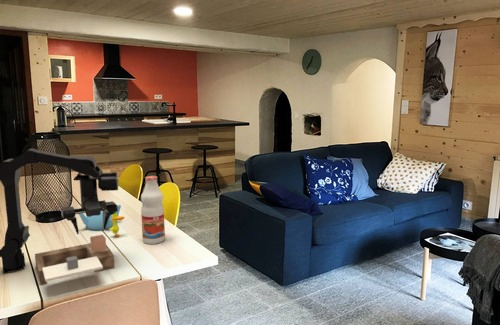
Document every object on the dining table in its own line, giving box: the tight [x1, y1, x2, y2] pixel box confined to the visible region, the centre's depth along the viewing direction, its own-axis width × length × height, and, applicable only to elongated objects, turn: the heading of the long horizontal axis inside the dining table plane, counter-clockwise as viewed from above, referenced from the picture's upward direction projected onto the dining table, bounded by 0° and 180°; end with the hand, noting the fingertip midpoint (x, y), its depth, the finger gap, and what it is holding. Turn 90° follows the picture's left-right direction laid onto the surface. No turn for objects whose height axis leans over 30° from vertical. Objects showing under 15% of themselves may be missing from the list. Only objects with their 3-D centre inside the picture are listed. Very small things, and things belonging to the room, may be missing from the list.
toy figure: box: [109, 212, 125, 238], centre depth 171 cm, size 7×4×12 cm, turn 118°
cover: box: [42, 256, 103, 283], centre depth 129 cm, size 17×10×4 cm, turn 123°
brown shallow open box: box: [34, 242, 116, 286], centre depth 142 cm, size 24×16×5 cm, turn 123°
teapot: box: [78, 204, 122, 231], centre depth 184 cm, size 15×15×11 cm
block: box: [89, 234, 107, 252], centre depth 145 cm, size 4×4×4 cm
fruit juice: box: [140, 175, 166, 245], centre depth 166 cm, size 9×9×28 cm
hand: (91, 231), depth 145 cm, fingers open, 9 cm apart
